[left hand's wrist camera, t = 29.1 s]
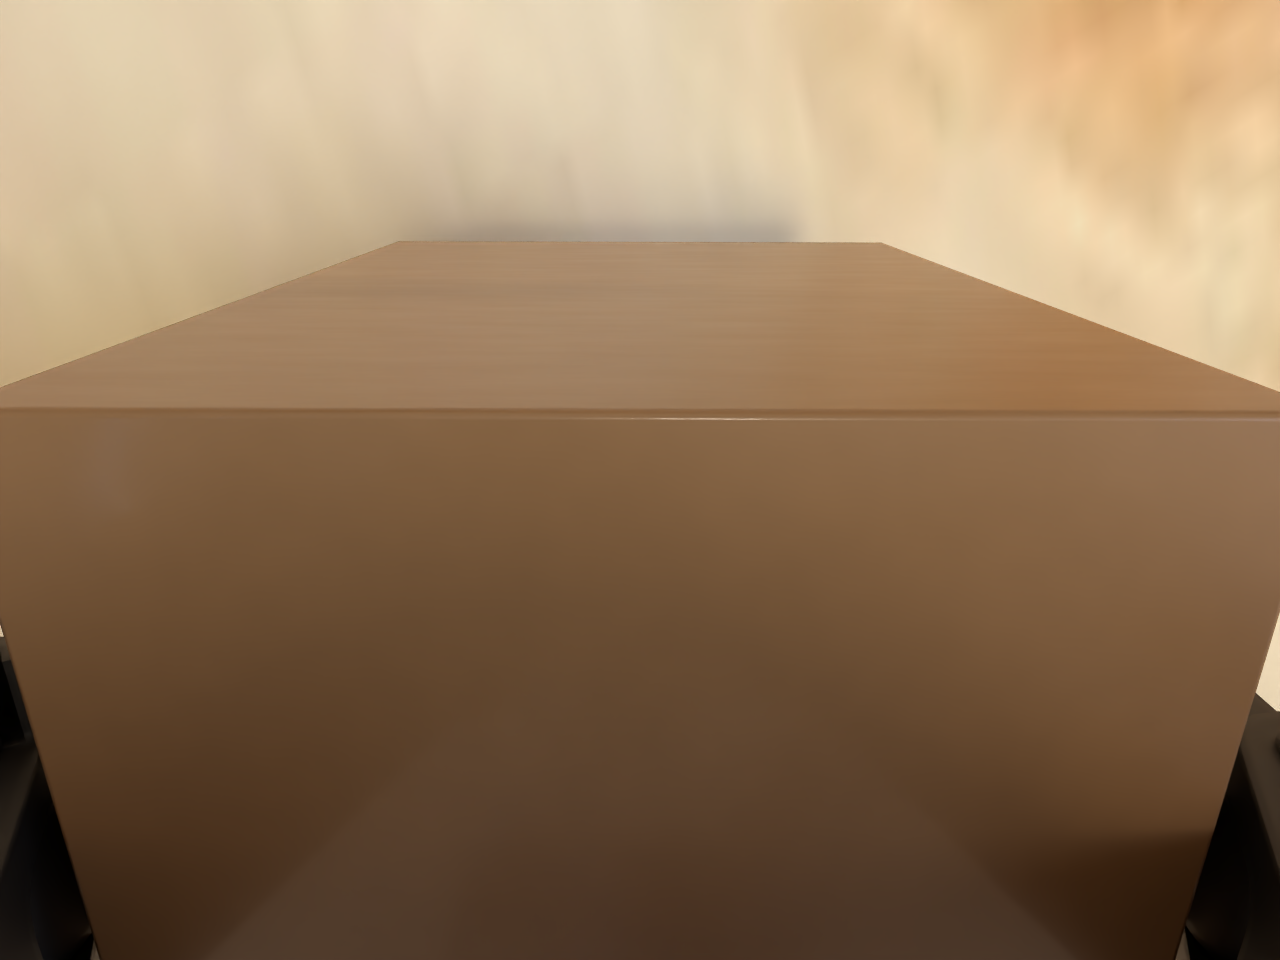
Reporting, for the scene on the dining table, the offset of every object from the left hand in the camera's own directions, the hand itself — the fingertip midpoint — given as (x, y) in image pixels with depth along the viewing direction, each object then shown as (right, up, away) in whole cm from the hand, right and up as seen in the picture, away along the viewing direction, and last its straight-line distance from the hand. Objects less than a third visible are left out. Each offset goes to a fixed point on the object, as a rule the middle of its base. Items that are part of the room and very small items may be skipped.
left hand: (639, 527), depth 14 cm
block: (0, +1, +2) cm, 2 cm away
